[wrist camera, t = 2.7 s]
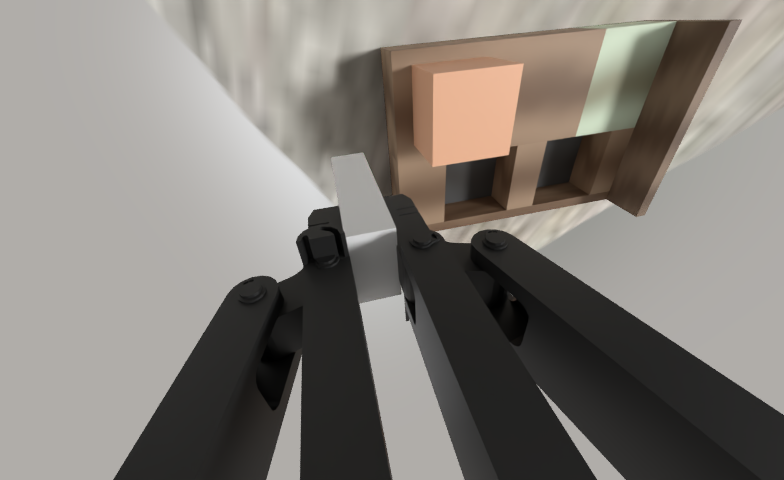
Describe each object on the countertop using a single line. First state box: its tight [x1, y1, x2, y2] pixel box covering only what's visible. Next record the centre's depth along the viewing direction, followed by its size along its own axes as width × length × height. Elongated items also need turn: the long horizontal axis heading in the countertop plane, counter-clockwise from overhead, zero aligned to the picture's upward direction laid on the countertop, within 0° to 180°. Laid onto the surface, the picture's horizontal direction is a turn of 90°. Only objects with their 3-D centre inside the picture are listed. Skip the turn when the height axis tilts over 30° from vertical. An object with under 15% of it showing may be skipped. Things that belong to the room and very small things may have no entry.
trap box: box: [381, 20, 742, 231], centre depth 28 cm, size 16×25×8 cm, turn 94°
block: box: [412, 57, 524, 167], centre depth 23 cm, size 6×6×5 cm
